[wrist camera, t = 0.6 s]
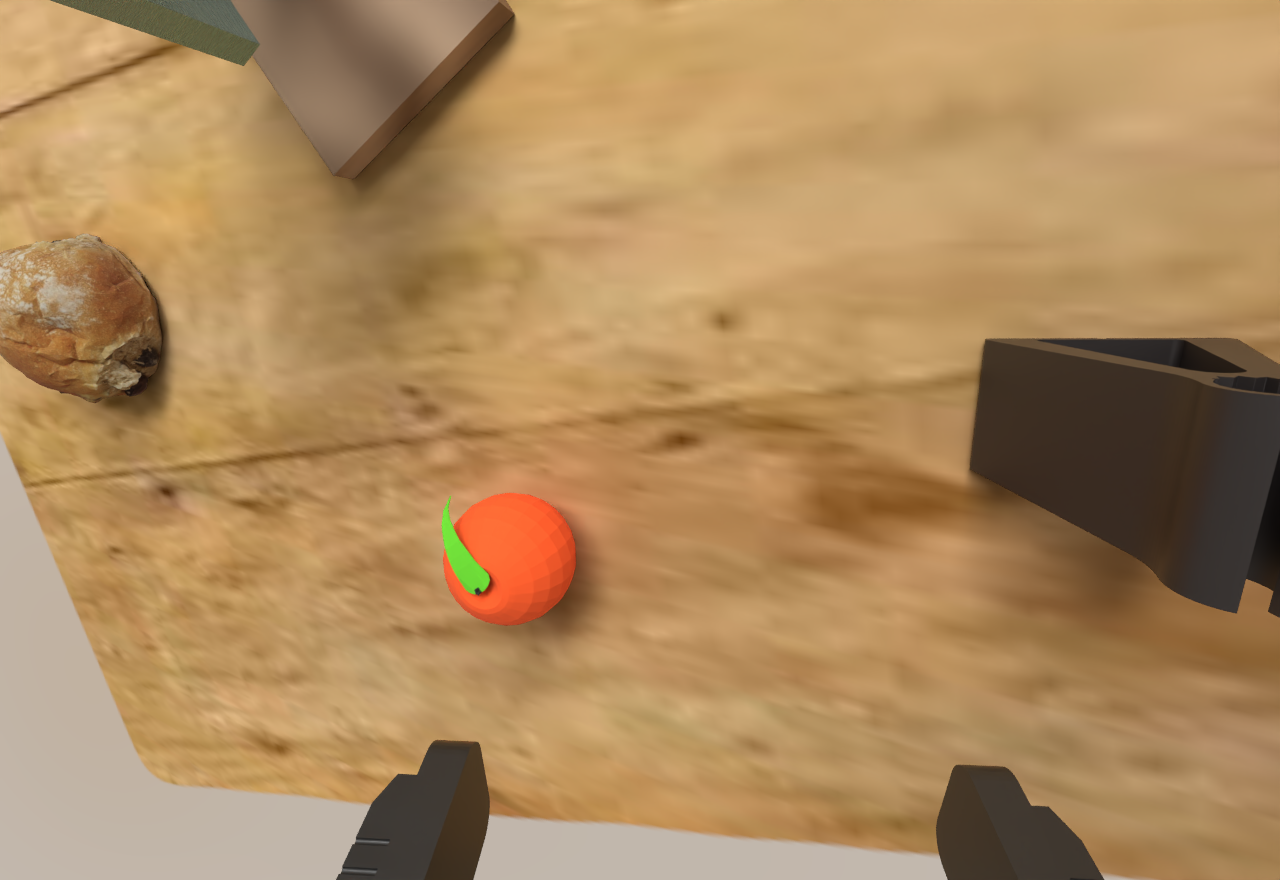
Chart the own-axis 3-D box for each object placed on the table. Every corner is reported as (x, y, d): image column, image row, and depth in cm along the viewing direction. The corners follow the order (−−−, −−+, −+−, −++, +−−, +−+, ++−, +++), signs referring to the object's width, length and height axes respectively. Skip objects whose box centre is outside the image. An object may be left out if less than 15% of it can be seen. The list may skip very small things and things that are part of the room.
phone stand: (967, 466, 29) (1063, 597, 18) (983, 337, 27) (1101, 391, 16) (1198, 478, 26) (1479, 638, 15) (1231, 338, 25) (1574, 401, 14)
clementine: (452, 498, 37) (374, 549, 30) (533, 437, 34) (467, 479, 28) (532, 603, 37) (471, 675, 31) (617, 551, 35) (571, 619, 28)
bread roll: (197, 248, 41) (51, 183, 34) (190, 393, 39) (32, 358, 32) (101, 285, 45) (-52, 232, 37) (89, 421, 42) (-76, 395, 35)
